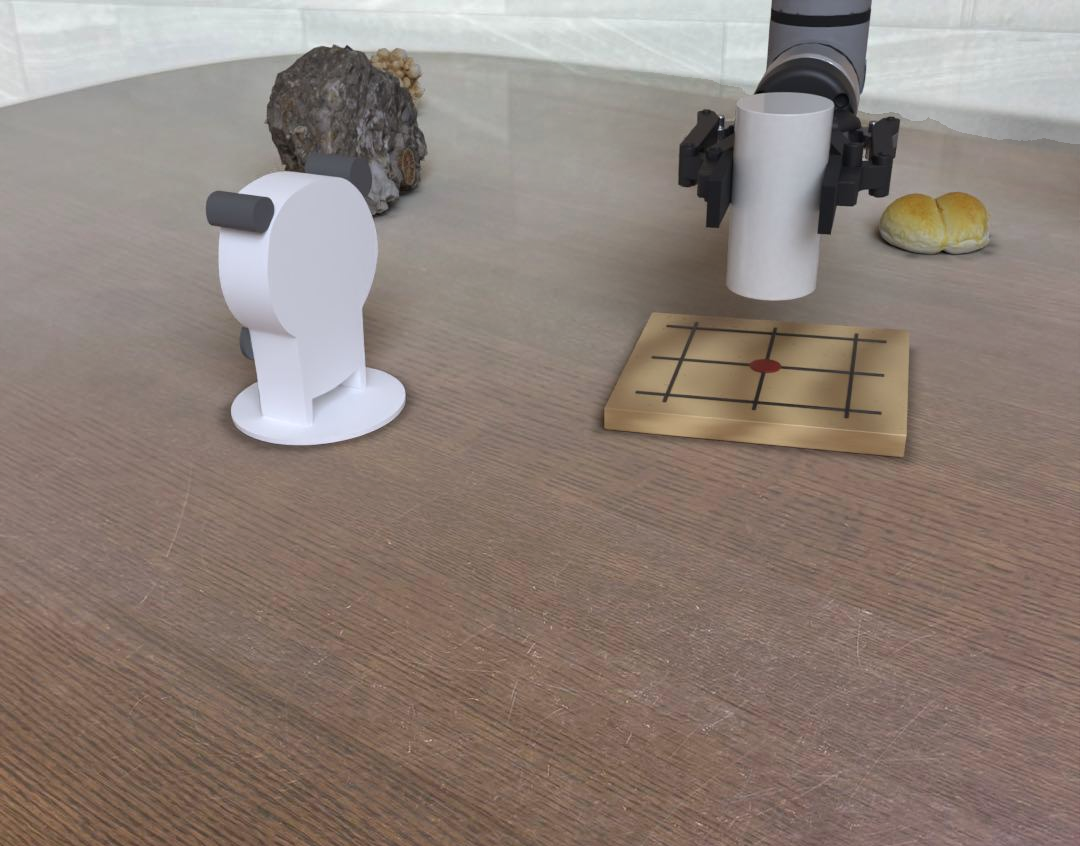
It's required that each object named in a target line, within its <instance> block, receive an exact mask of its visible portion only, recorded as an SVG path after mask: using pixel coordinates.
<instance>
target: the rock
mask: <svg viewBox="0 0 1080 846" xmlns="http://www.w3.org/2000/svg"><path fill="white" fill-rule="evenodd" d="M369 60H370V59H369V58H368V56H367V55H366V53H365V51H362V50H356V49H354V48H352V47H351V46H350V45H349V44H346V45H345V46H344V47H341V46H339V45H338V44H334V43H333V44H332V46H331V47H329V46H326V45H319V46H316V47H313V48H312V49H311V50H309V51H307V52H306V53H304V54H303V55H301V56H300V57H298V58H297V59H296V60H295V61H294V62H293V63H292V64H291V65H290V66H289V67H287V68H286V69H284V70H282V71H280V72H278V73H276V76H275V79H274V80H275V81H274V84H273V86H272V87H271V94H269V101H268V103H267V104H266V119H265V120H264V122H263V124H266V125H267V126H268V131H269V133H270V135H271V141H272V143H273V144H274V146H275V147H276V150H277V153H278V155H279V158H280V163H281V165H282V166H285V168H284V171H291V172H299V173H305V164H306V161H307V159H308V157H309V155H310V154H311V153H313V152H317V153H325V154H334V155H343V156H352V157H360V158H363V159H365V160H366V161H367V162H368V164H369V166H370V169H371V173H372V187H371V190H370V193H369V194H368V196H366V197H364V199H365V201H366V203H367V205H368V207H369V210H370V212H371V215H372V216H375V215H376V214H383V213H384V212H385V211H386V210H388V209H390V206H392V205H393V204H394V203H396V202H397V201H399V198H400V192H401V191H410V190H413V189H414V188H415V187H416V186H417V184H418V183H421V182H422V177H421V173H420V172H421V171H422V170H423V168H422V165H421V162H425V161H426V160H425V159H426V158H425V156H427V155H428V154H429V152H428V146H427V143H426V137H425V134H424V132H423V131H422V130H421V128H419V122H418V109H417V110H416V107H415V105H414V104H413V100H412V96H411V94H410V92H409V91H408V89H407V87H400V81H399V78H398V77H395V76H394V75H393V73H391V72H388V71H386V70H377V69H376V67H375V66H373V65H372V64H371V63H370V62H369Z"/></svg>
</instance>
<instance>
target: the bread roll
mask: <svg viewBox="0 0 1080 846" xmlns="http://www.w3.org/2000/svg"><path fill="white" fill-rule="evenodd" d="M990 224H991V214H989V210H988V209H987V208H986V207H985V205H984V203H983V202H982V201H981V200H980V199H978V198H977V197H975V196H974V195H971V194H969V193H966V192H962V191H952V192H947V193H945V194H942V195H939V196H937V197H936V198H934V197H931V196H929V195H927V194H924V193H923V194H922V193H917V192H916V193H910V194H909V193H908V194H906V195H902V196H900V197H898V198H896V199H895V200H894V201H892V202H890V204H889V205H888V206H887V207H886V208H885V209H884V211H883V212H882V215H881V217H880V219H879V225H878V230H879V234H880V236H881V237H882V238H883V239H884V241H885V242H887V243H889V244H890V245H891V246H893V247H897V248H899V249H902V250H905V251H907V252H911V253H915V254H925V255H935V254H938V253H941V252H942V251H943V252H946V253H947V254H951V255H961V254H968V253H972V252H975V251H977V250H981V249H983V248H984V247H986V246H988V244H990V240H991V239H990Z"/></svg>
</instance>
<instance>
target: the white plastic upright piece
mask: <svg viewBox="0 0 1080 846" xmlns="http://www.w3.org/2000/svg"><path fill="white" fill-rule="evenodd" d="M371 187H372V173H371V169H370V166H369V164H368V162H367V161H366V160H365V159H363V158H360V157H352V156H343V155H334V154H325V153H317V152H313V153H311V154H310V155H309V157H308V159H307V161H306V164H305V173H299V172H291V171H285V170H284V171H275V172H270V173H267V174H265V175H262V176H260V177H259V178H257V179H255V180H253V181H251V182H250V183H248V184H247V185H245V186H244V187H242V188H241V190H239V191H238V192H233V191H225V190H215V191H213V192H211V193H209V195H208V196H207V197H206V202H205V215H206V220H207V223H208V224H209V225H210V226H213V227H219V228H220V229H219V230H220V231H219V236H218V237H219V238H218V275H219V283H220V288H221V292H222V295H223V298H224V301H225V304H226V305H227V308H228V309H229V311H230V313H231V314H232V316H233V317H234V318H235V319H236V320H237V321H238V322H239V323H240V324H241V325H242V327H241V329H240V332H239V333H240V334H239V339H238V340H239V344H238V345H239V349H240V352H241V354H242V355H243V356H244V357H245V358H246V359H247V360H250V361H254V365H255V371H256V378H257V381H256V382H254V383H252V384H250V385H249V386H247V387H246V388H244V389H243V390H242V391H241V392H240V393H239V394H238V395H237V396H236V397H235V398H234V400H233V402H232V404H231V406H230V414H231V420H232V422H233V425H234V426H235V427H236V428H237V429H238V430H239V431H240V432H242V434H245V435H246V436H249V437H251V438H252V439H254V440H255V439H256V440H258V441H261V442H265V443H270V444H277V445H283V446H284V445H286V446H314V445H323V444H324V445H325V444H332V443H338V442H343V441H347V440H351V439H354V438H358V437H361V436H364V435H367V434H370V433H372V432H374V431H376V430H378V429H380V428H382V427H385V426H386V425H388V424H389V423H391V422H392V421H394V419H396V418H397V417H398V416H399V415H400V413H402V411H403V410H404V408H405V405H406V403H407V396H406V389H405V387H404V385H403V384H402V382H401V381H400V380H399V379H397V378H396V377H395V376H393V375H391V374H390V373H388V372H385V371H383V370H379V369H376V368H373V367H368V366H366V355H365V353H366V352H365V338H364V320H363V307H364V304H365V303H366V300H367V299H368V296H369V294H370V291H371V288H372V285H373V282H374V278H375V275H376V269H377V263H378V256H379V242H378V234H377V228H376V224H375V221H374V217H373V214H371V212H370V210H369V207H368V205H367V203H366V201H365V199H364V197H366V196H368V194H369V193H370V190H371Z"/></svg>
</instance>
